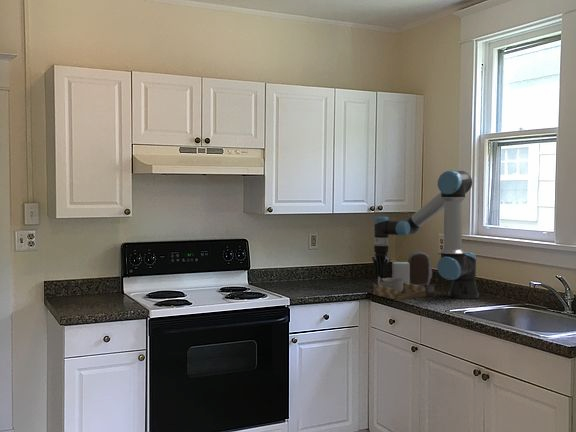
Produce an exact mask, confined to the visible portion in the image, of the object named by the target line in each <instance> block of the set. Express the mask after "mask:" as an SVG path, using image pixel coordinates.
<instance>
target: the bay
mask: <svg viewBox="0 0 576 432" xmlns="http://www.w3.org/2000/svg"><path fill="white" fill-rule="evenodd" d="M438 280H439V279H438V278H435V279H434V281H435V283H434V284H429V285H425V286H418V285H413V284H408V283H403V291H402V292H401V293H398V289H393V288H388V287H383V286H379V285H378V284H373V295H375V296H379V297H383V298H387V299H393V300H396V301H400V300H401V301H402V300H409V299H418V298H427V297H429V298H434V297H435V287H438V286H439V283H438V282H439V281H438Z"/></svg>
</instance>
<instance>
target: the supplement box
mask: <svg viewBox="0 0 576 432" xmlns="http://www.w3.org/2000/svg"><path fill="white" fill-rule="evenodd" d="M391 262H392V264H391V268H392V269H391V271H392V273H391V276H392V277H391V278H401V279H403V283H408V284H410V264H409V263H408V261H391Z"/></svg>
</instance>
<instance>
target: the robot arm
mask: <svg viewBox="0 0 576 432" xmlns="http://www.w3.org/2000/svg"><path fill="white" fill-rule="evenodd" d="M472 186H473V178H472V176H471V175H470V174H469V173H468V172H467V171H464V170H453V169H452V170H451V169H450V170H447V171H444V172H443V173H441V175H439V176H438V179H437V188H438V190H439V191H440V192H439V193H438V194H436V196H434V197H433V198H432V199H430V200H429V201H428V202H427V203H426V204H424V205H423V206H422V207H421V208H420V209H418V210H417V211H416V212H415V213H414V214H412V215H411V216H410V217H409V218H407V219H405V220H390V218H389V217H388V216H376V217H375V218H374V223H373V225H374V239H373V240H374V241H373V242H374V245H373V247H374V248H373V252H374V253H375V255H374V256H372V257H371V258H372V262H373V269H374V271H373V272H374V275H376V276H377V285H379V286H381V285H380V279H382V278H384V279H385V277H387V275H388V271H389V266H390V262H391V258H388V253H389V236H390V235H391V236H392V235H393V236H402V237H403V236H408V235H413V234H416V233H418V231H419V230H420V228H421V227H423V225H425V224H427V222H428V221H430V220H431V219H432V218H433V217H435V216H436V215H437V214H438V213H440V212H442V210H444V211H443V213H444V214H443V249H442V250H441V251H440V258H439V260H438V262H437V264H436V269H437V272H438V274H439V275H440V276H441V278H443V279H445V280H448V281H450V280H451V284H450V287H449V290H448V297H450V298H454V299H465V300H472V299H478V298H480V296H479V295H480V292H479V290H478V287H477V282H476V275H477V274H476V271H477V270H476V268H477V256H476V254H475V253H473V252H466V251H464V250H463V248H462V247H463V244H462V243H463V239H462V237H463V235H462V234H463V200H465V198H466V194H467V193H468V192H470V190H471V188H472ZM382 284H383V280H382Z"/></svg>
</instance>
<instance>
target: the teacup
mask: <svg viewBox="0 0 576 432" xmlns="http://www.w3.org/2000/svg"><path fill="white" fill-rule="evenodd" d="M382 280H383V284H382ZM380 285H381V286H383V287H388V288H393V289H398V293H403V292H402V291H403V279H401V278H392V277H384V278H382V279H380Z"/></svg>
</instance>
